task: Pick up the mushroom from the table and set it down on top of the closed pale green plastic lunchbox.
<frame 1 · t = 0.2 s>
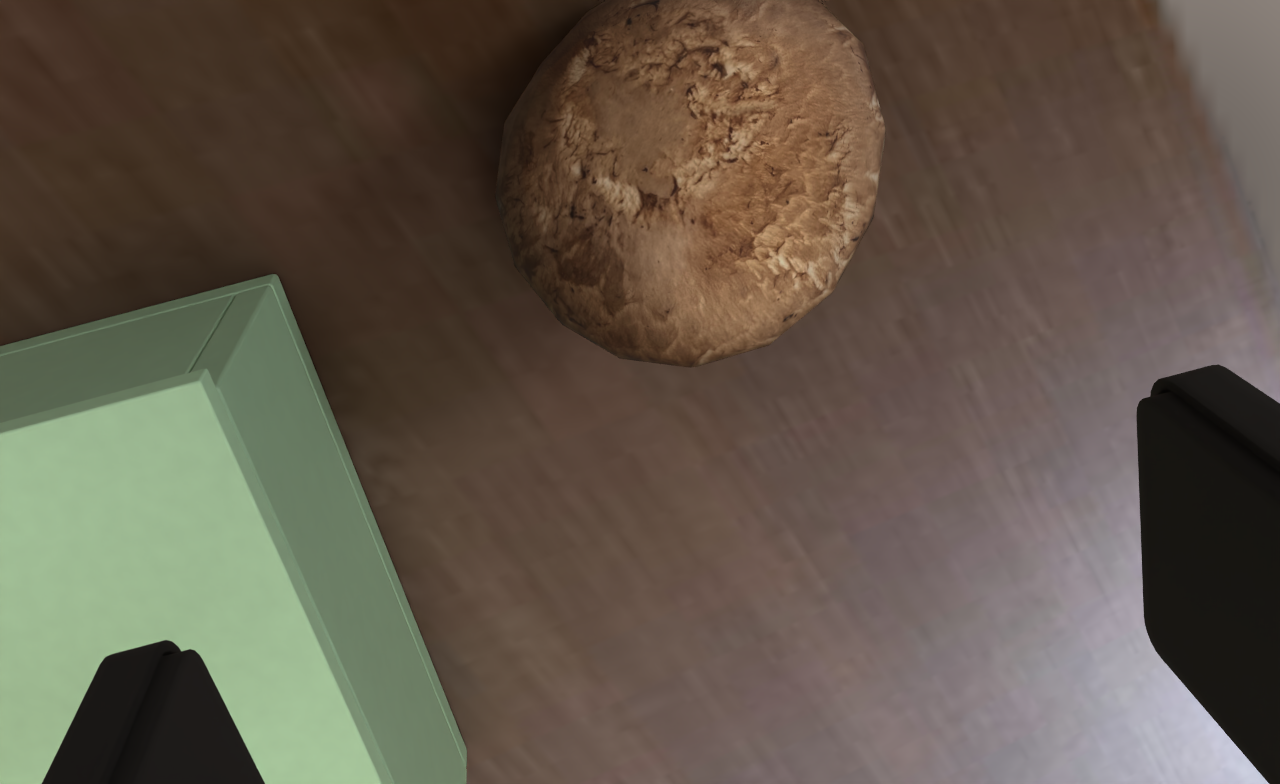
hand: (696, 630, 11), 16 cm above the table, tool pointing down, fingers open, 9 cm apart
lunchbox lid: (68, 782, 22), point 7 cm above the table, hinge at 0.0°
mushroom: (664, 135, 25), on the table
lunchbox: (160, 596, 29), on the table
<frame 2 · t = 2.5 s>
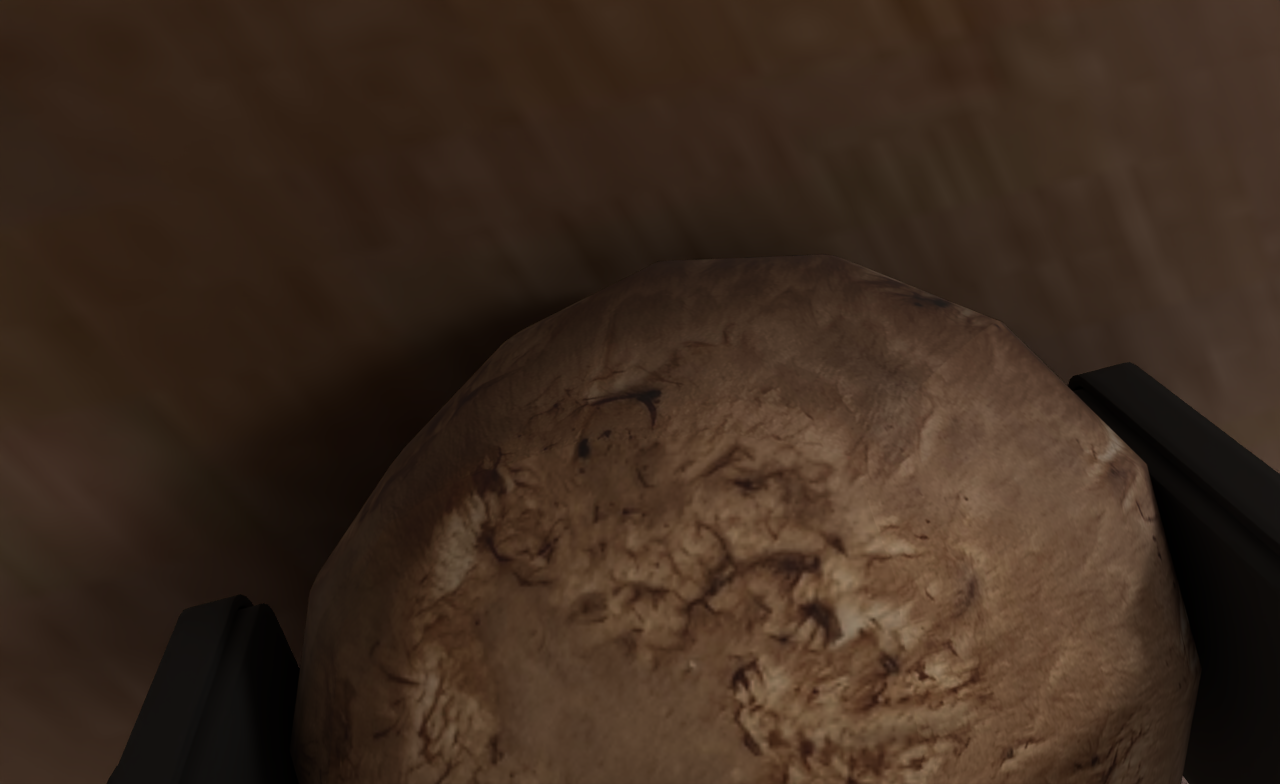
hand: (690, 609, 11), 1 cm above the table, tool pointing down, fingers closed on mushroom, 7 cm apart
mushroom: (667, 518, 13), on the table, touching gripper
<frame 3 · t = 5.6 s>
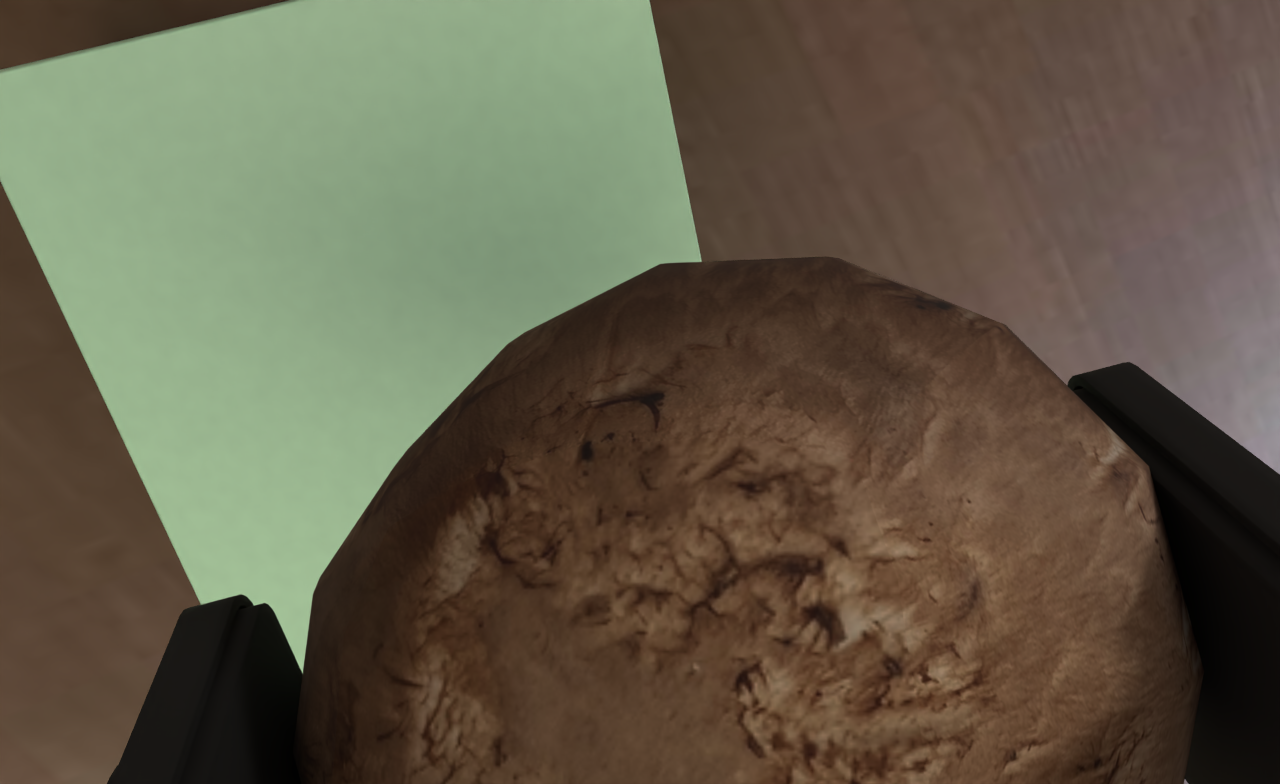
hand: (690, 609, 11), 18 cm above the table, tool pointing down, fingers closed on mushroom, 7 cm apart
lunchbox lid: (427, 389, 22), point 7 cm above the table, hinge at 0.0°
mushroom: (669, 520, 13), point 16 cm above the table, touching gripper
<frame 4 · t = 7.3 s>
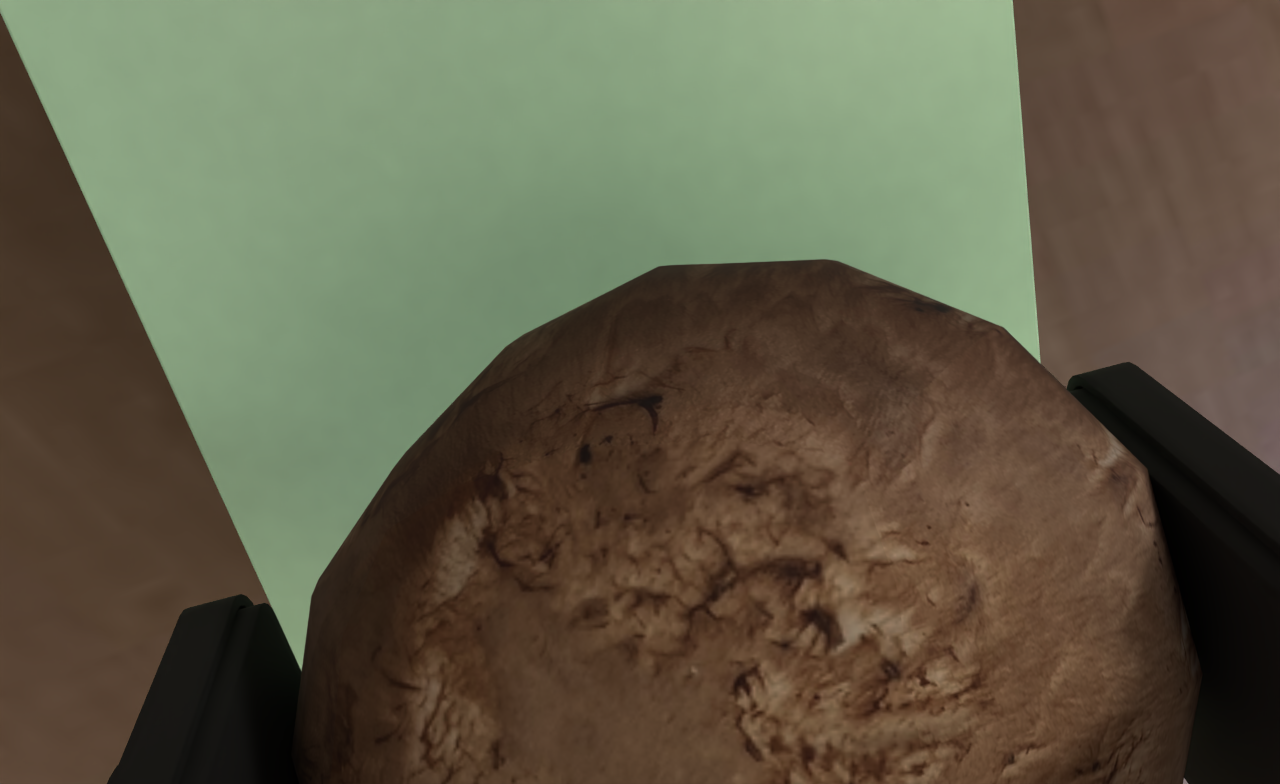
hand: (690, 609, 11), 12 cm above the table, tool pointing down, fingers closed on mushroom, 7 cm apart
lunchbox lid: (628, 384, 16), point 7 cm above the table, hinge at 0.0°
mushroom: (668, 522, 13), point 10 cm above the table, touching gripper
when the fingers open (8 cm above the table, at t = 8.8 s): mushroom stays where it is, resting on lunchbox lid.
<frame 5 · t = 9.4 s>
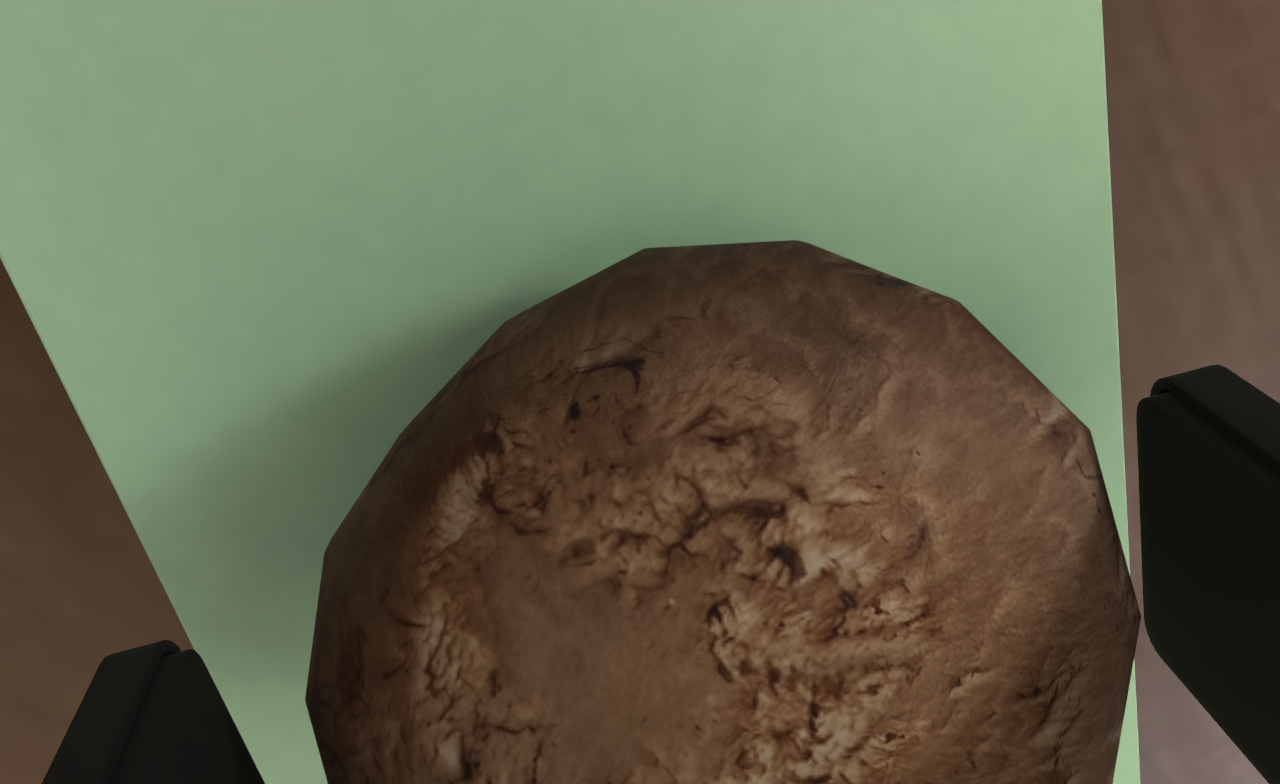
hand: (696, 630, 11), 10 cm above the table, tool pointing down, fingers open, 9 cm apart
lunchbox lid: (650, 485, 14), point 7 cm above the table, hinge at -0.2°, touching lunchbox, mushroom
mushroom: (656, 495, 14), point 7 cm above the table, touching lunchbox lid
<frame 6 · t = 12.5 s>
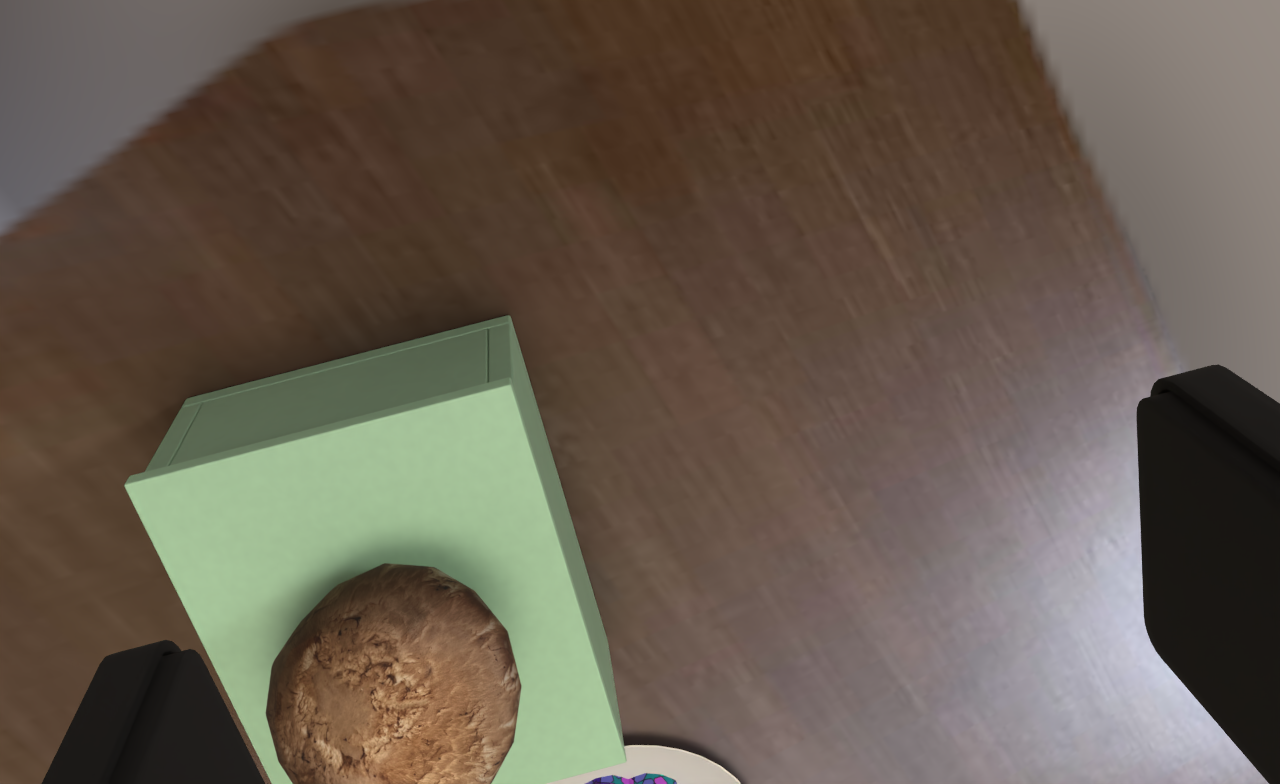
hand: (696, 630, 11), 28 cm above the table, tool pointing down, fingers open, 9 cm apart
lunchbox lid: (398, 631, 36), point 7 cm above the table, hinge at -0.2°, touching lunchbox, mushroom
mushroom: (400, 635, 36), point 7 cm above the table, touching lunchbox lid
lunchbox: (412, 528, 42), on the table
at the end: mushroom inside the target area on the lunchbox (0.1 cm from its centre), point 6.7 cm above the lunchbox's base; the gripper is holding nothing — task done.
